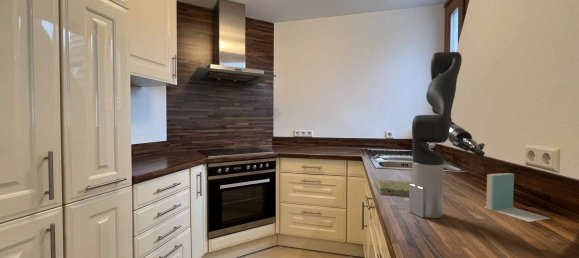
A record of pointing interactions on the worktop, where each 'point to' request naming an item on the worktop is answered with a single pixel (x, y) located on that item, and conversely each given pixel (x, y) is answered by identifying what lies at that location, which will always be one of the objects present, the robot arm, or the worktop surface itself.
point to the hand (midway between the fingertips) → (481, 154)
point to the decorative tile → (393, 187)
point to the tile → (500, 191)
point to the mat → (521, 214)
